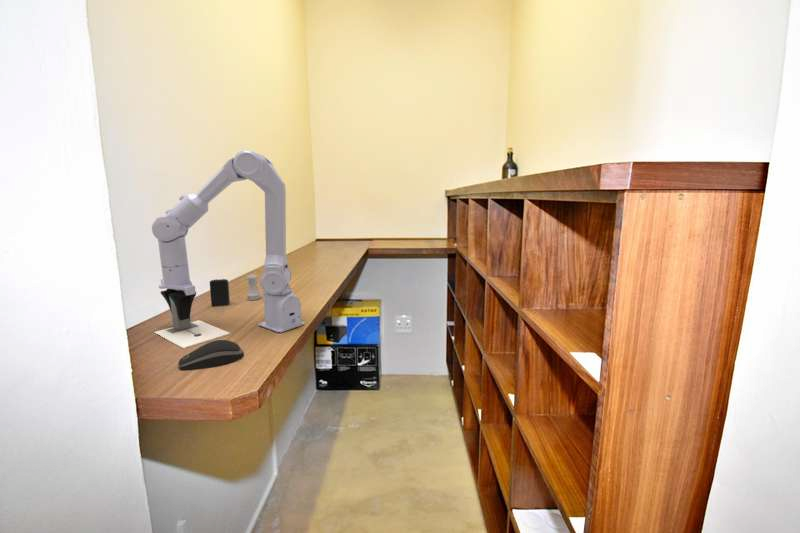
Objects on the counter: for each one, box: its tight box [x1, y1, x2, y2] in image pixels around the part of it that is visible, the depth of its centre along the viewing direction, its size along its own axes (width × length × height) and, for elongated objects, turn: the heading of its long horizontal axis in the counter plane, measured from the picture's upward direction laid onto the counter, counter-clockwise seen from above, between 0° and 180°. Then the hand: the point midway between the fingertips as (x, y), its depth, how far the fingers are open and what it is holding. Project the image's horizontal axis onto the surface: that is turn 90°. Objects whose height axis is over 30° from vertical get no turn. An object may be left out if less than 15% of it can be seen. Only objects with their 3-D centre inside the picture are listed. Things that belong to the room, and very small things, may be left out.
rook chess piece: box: [246, 273, 262, 301], centre depth 124 cm, size 4×4×8 cm
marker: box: [169, 292, 192, 331], centre depth 96 cm, size 3×3×9 cm
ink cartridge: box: [209, 278, 231, 307], centre depth 117 cm, size 5×2×8 cm, turn 106°
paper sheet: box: [153, 319, 231, 350], centre depth 94 cm, size 16×11×1 cm
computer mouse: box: [178, 339, 245, 372], centre depth 79 cm, size 7×12×4 cm, turn 119°
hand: (181, 317), depth 97 cm, fingers closed on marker, 3 cm apart
